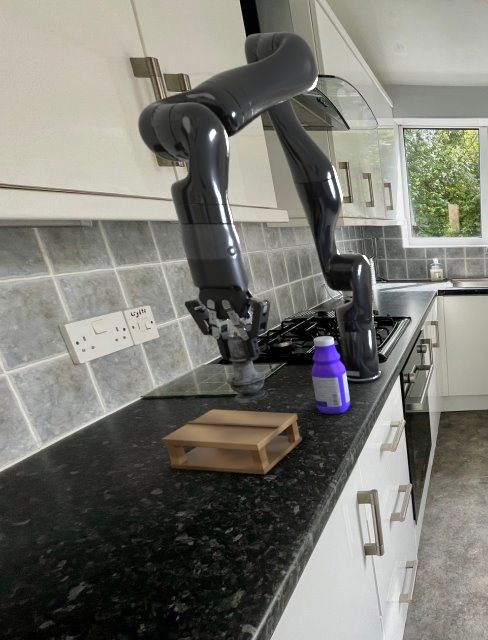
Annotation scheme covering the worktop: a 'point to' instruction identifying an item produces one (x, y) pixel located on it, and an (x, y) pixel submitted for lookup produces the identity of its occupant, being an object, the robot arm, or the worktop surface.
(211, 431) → the oak rack
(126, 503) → the worktop surface
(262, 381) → the grey tall turned figure
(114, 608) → the worktop surface
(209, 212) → the robot arm
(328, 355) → the bottle
